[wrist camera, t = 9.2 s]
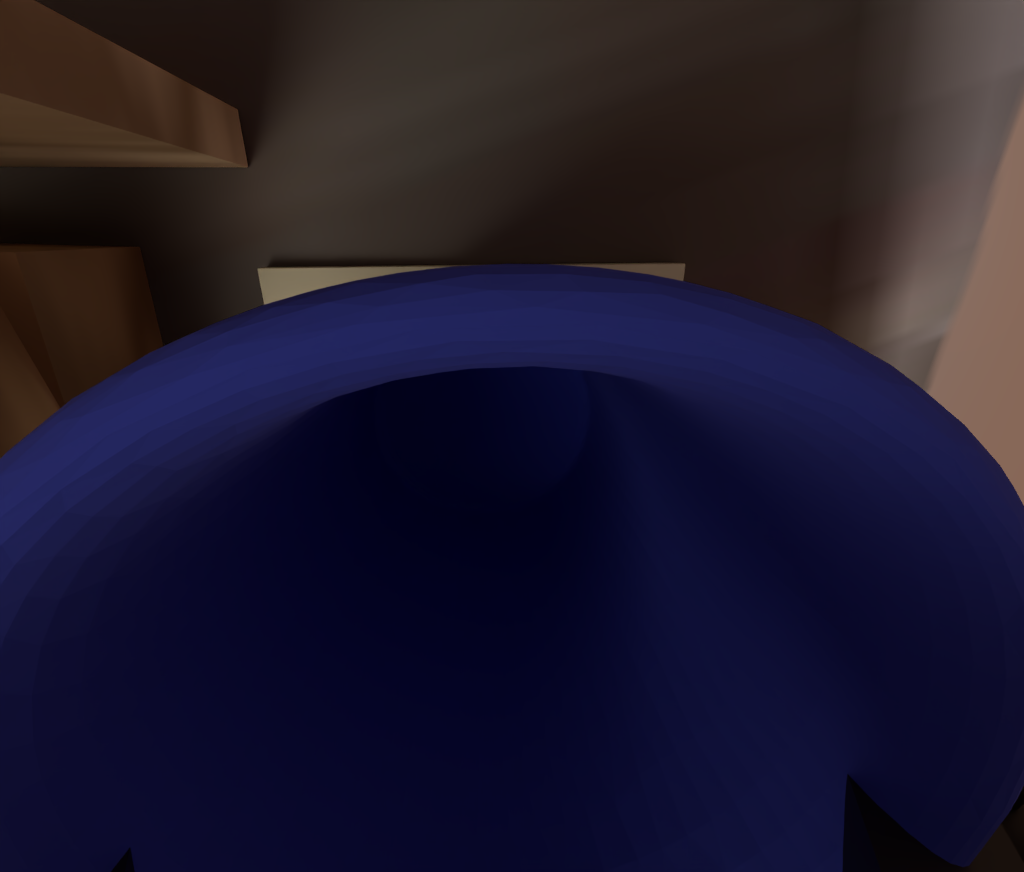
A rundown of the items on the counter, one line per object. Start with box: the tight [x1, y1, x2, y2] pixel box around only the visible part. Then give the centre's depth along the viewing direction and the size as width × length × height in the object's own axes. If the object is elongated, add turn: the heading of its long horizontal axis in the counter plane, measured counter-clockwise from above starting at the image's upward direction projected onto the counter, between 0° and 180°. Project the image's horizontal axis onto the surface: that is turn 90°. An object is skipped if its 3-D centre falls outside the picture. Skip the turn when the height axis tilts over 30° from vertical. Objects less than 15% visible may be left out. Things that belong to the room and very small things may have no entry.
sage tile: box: [257, 263, 685, 305], centre depth 15 cm, size 11×11×1 cm
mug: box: [0, 264, 1024, 872], centre depth 9 cm, size 8×12×10 cm
